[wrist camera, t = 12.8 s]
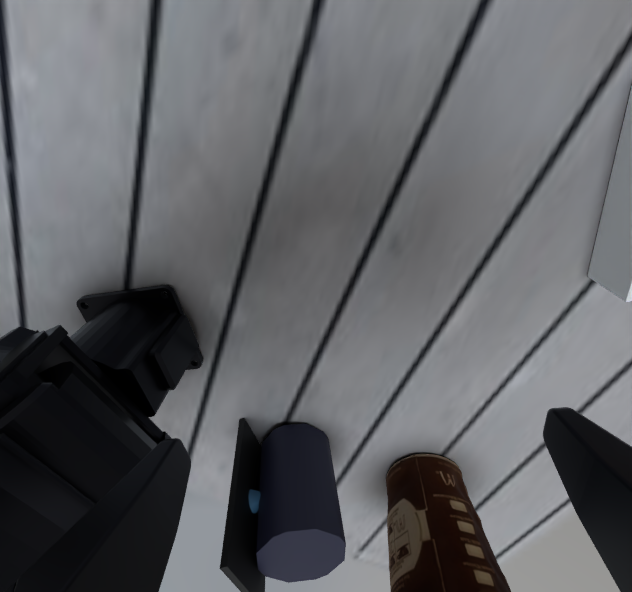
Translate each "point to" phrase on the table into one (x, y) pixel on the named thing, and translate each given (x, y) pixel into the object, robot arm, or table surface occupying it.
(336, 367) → the table surface
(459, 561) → the coffee cup
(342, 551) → the speaker
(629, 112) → the socket
